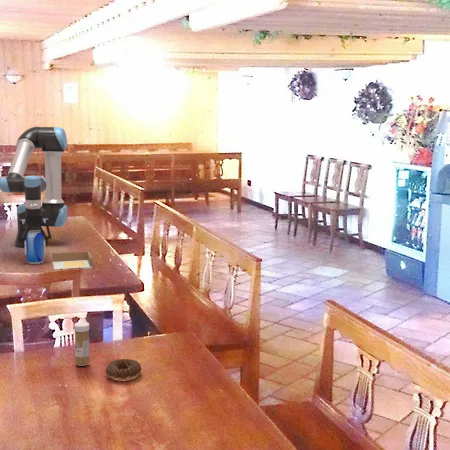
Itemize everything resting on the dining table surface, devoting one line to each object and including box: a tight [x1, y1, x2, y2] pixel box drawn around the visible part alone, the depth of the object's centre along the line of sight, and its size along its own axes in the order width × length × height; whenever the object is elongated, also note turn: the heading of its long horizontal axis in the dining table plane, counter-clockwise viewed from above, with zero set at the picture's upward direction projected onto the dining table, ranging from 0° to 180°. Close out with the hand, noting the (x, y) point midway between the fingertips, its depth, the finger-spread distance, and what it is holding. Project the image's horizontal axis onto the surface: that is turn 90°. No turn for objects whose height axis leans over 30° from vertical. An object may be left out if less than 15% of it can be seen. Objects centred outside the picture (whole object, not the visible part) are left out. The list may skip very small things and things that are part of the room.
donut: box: [105, 358, 142, 380], centre depth 193 cm, size 11×11×4 cm
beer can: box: [25, 230, 45, 265], centre depth 318 cm, size 8×8×16 cm
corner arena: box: [51, 250, 94, 271], centre depth 316 cm, size 15×18×5 cm
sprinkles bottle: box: [73, 321, 90, 366], centre depth 199 cm, size 5×5×13 cm
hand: (35, 253), depth 319 cm, fingers closed on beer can, 8 cm apart
